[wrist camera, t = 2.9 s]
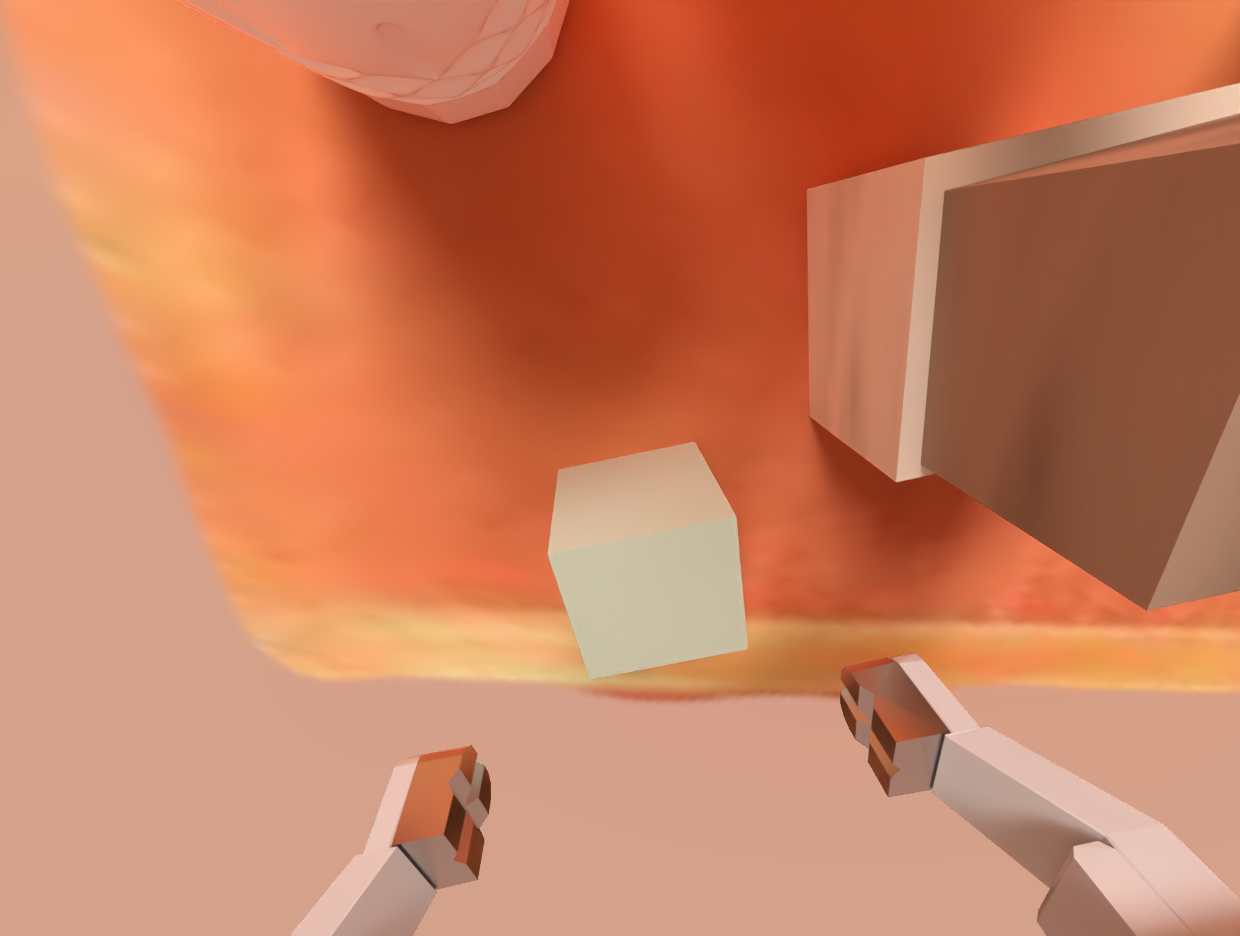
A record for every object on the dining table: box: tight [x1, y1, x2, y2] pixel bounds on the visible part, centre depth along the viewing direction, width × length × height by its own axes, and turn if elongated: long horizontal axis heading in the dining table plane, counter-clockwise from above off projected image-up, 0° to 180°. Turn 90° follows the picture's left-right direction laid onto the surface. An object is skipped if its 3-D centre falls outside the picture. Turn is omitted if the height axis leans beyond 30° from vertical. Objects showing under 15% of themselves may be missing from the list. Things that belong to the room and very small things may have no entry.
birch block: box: [807, 83, 1240, 482], centre depth 12 cm, size 7×7×5 cm
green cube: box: [548, 441, 748, 679], centre depth 15 cm, size 5×5×5 cm
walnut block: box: [921, 113, 1240, 611], centre depth 7 cm, size 6×6×5 cm
